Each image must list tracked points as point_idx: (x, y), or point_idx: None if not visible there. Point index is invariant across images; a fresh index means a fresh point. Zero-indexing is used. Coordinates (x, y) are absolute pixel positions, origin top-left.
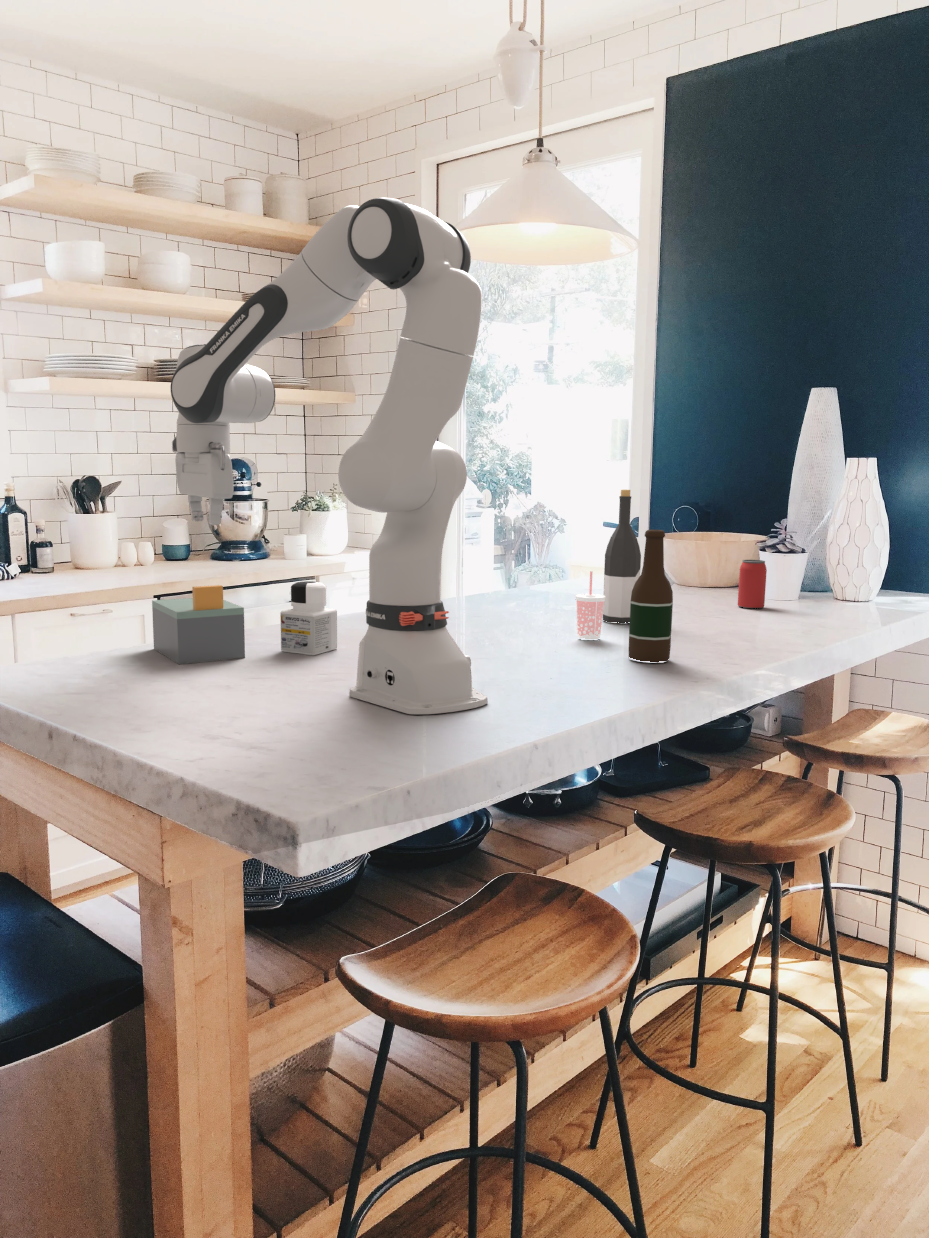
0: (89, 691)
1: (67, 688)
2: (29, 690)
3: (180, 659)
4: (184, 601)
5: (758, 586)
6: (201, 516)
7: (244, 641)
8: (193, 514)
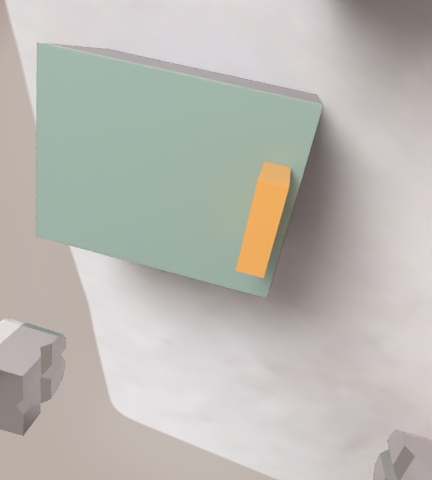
0: (358, 429)
1: (314, 436)
2: (287, 465)
3: None
4: (94, 180)
5: None
6: (43, 359)
7: (317, 97)
8: (32, 416)
